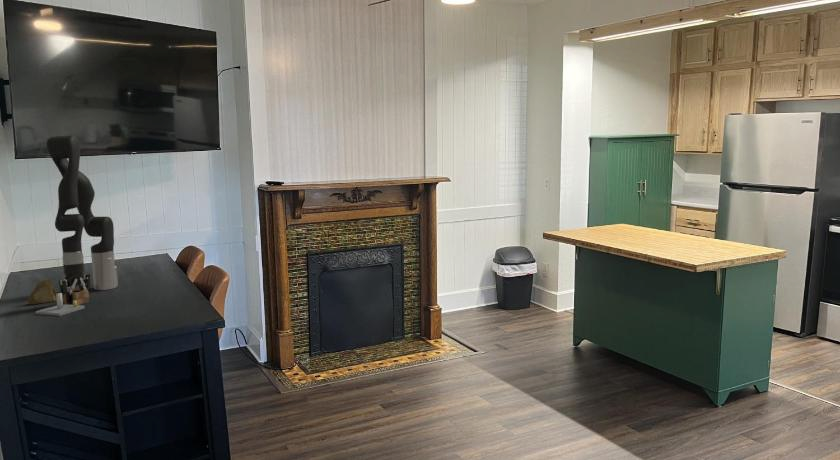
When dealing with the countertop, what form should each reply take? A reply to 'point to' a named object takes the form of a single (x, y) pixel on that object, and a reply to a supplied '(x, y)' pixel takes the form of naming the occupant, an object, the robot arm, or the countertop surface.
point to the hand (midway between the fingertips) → (76, 301)
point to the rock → (43, 293)
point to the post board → (59, 311)
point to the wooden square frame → (78, 296)
